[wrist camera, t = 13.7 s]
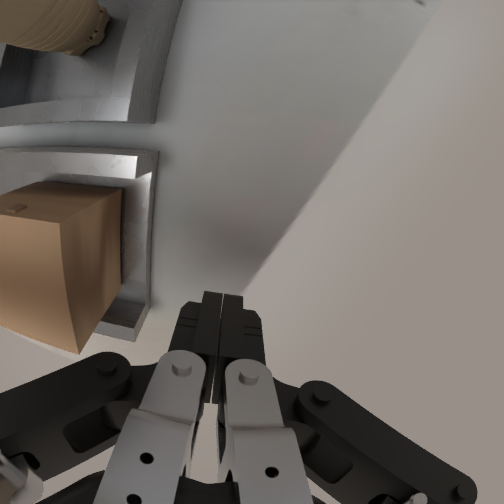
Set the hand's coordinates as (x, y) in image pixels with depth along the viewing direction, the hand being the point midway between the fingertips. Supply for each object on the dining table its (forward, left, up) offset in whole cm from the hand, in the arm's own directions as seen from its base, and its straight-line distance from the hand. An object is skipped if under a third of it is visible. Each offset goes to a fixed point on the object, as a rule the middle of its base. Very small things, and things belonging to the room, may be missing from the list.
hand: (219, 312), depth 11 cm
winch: (-15, -10, -6) cm, 19 cm away
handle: (-12, -10, -5) cm, 17 cm away
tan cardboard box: (0, -9, -5) cm, 10 cm away
